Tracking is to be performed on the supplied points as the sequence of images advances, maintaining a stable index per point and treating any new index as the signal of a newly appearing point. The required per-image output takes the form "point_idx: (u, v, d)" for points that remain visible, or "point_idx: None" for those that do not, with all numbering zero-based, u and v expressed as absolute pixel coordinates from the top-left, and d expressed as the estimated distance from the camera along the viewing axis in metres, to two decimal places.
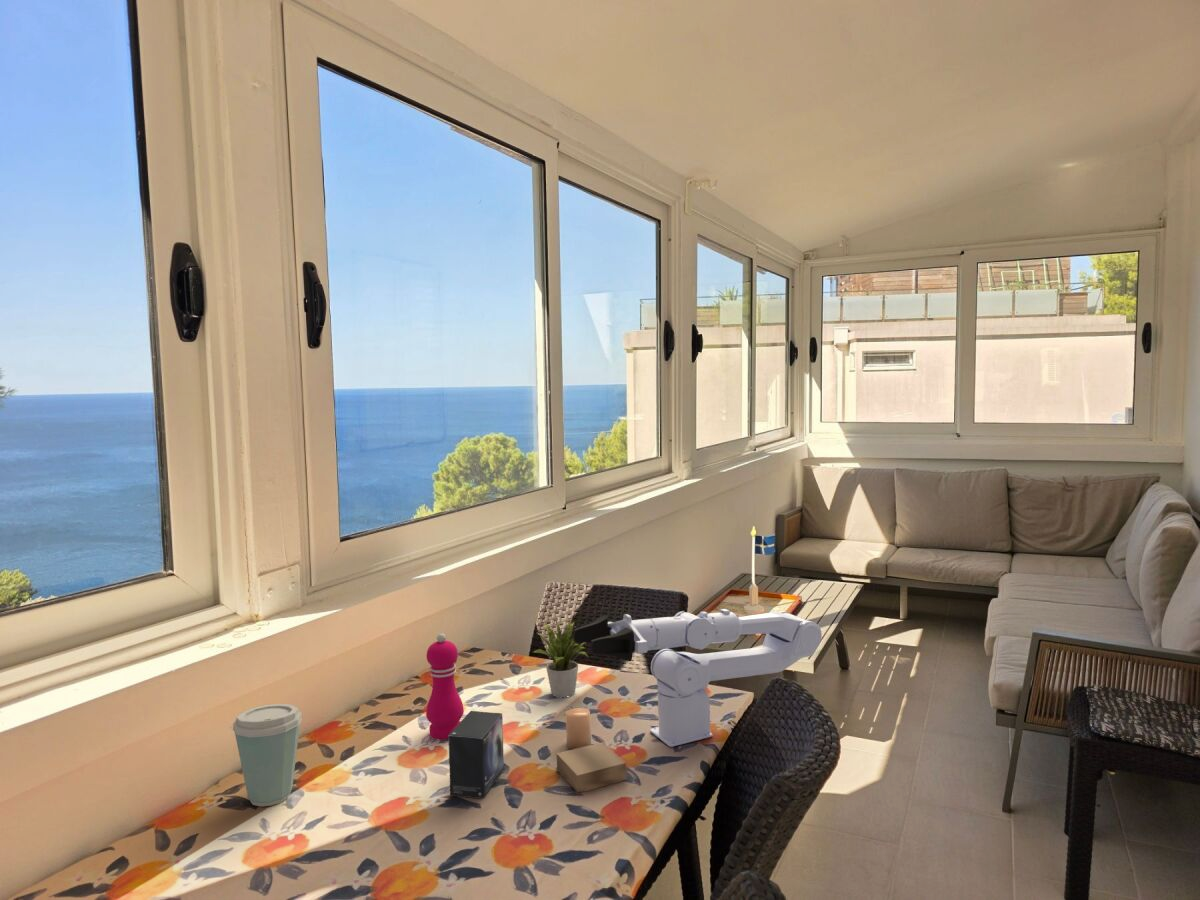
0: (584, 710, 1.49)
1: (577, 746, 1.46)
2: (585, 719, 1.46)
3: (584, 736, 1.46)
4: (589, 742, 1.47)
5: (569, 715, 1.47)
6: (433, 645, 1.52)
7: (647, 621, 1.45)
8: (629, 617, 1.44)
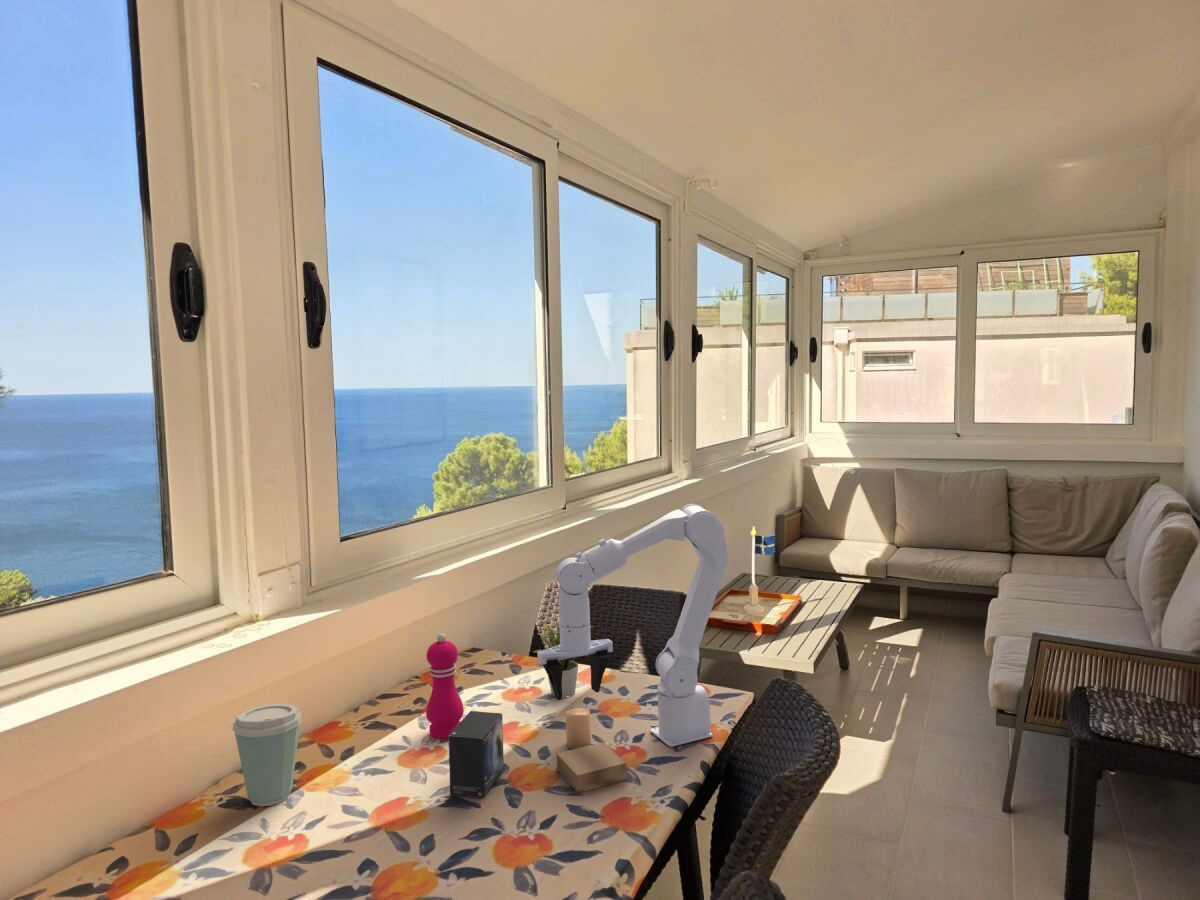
0: (584, 710, 1.49)
1: (577, 746, 1.46)
2: (585, 719, 1.46)
3: (584, 736, 1.46)
4: (589, 742, 1.47)
5: (569, 715, 1.47)
6: (433, 645, 1.52)
7: None
8: None
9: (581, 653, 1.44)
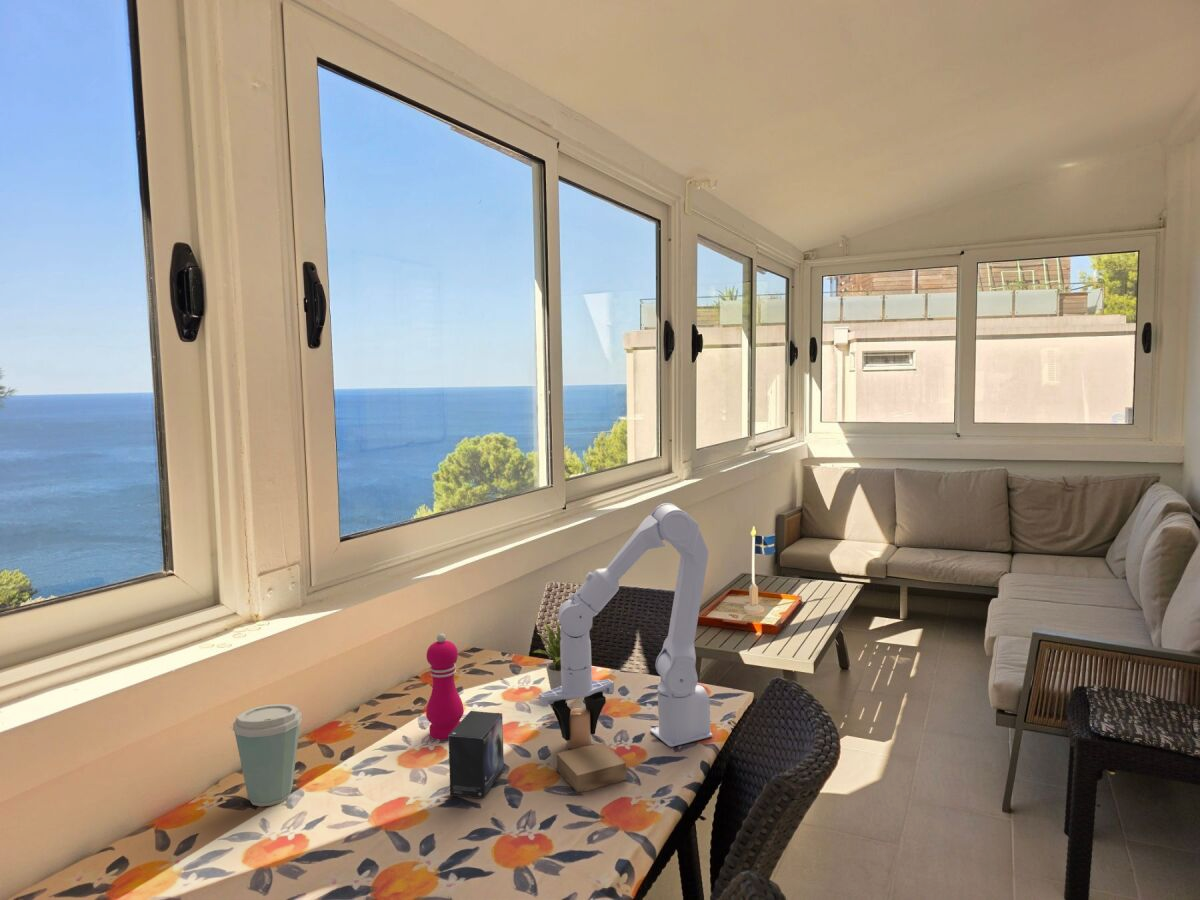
0: (584, 710, 1.49)
1: (577, 746, 1.46)
2: (585, 719, 1.46)
3: (584, 736, 1.46)
4: (589, 742, 1.47)
5: None
6: (433, 645, 1.52)
7: None
8: None
9: (582, 695, 1.45)
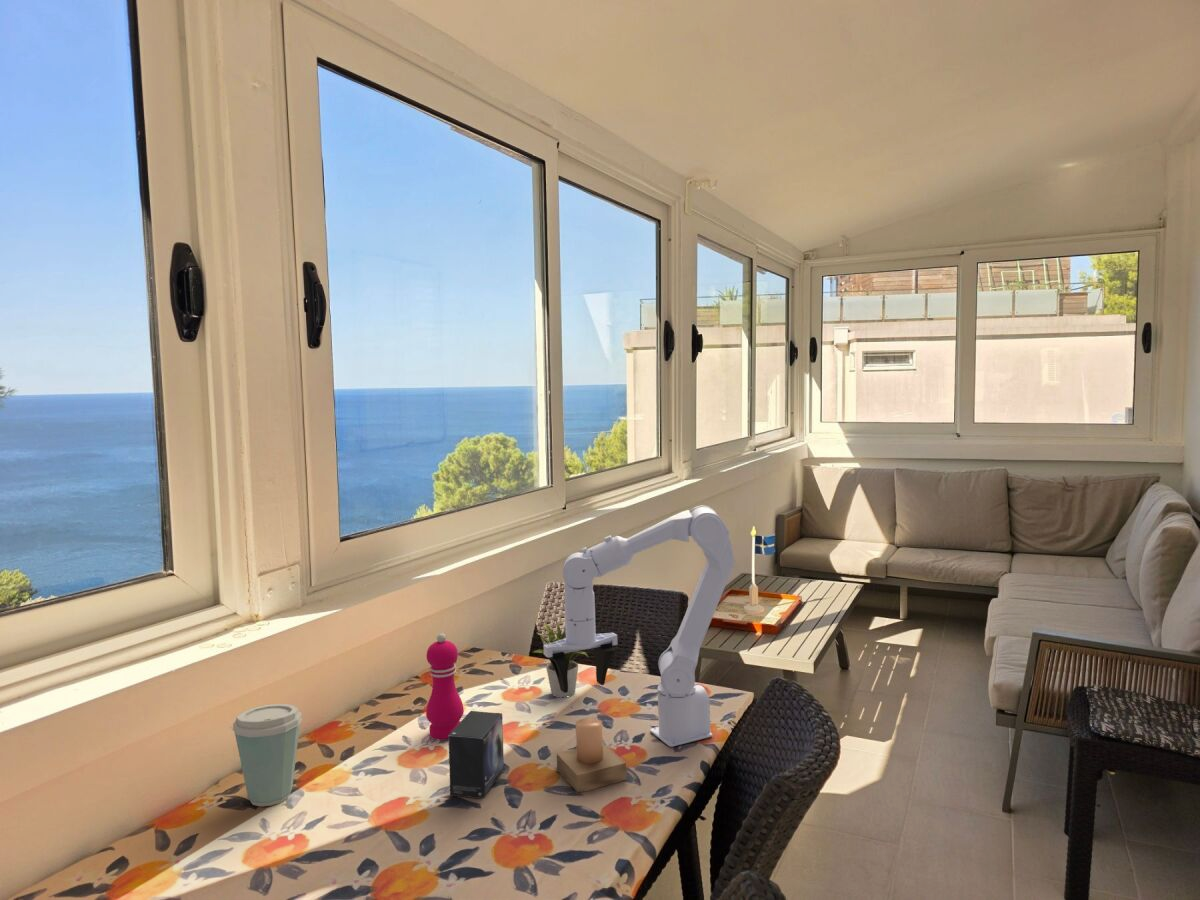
0: (596, 720, 1.37)
1: (588, 760, 1.34)
2: (597, 730, 1.34)
3: (595, 749, 1.34)
4: (601, 756, 1.35)
5: (579, 726, 1.35)
6: (433, 645, 1.52)
7: None
8: None
9: (586, 646, 1.47)
